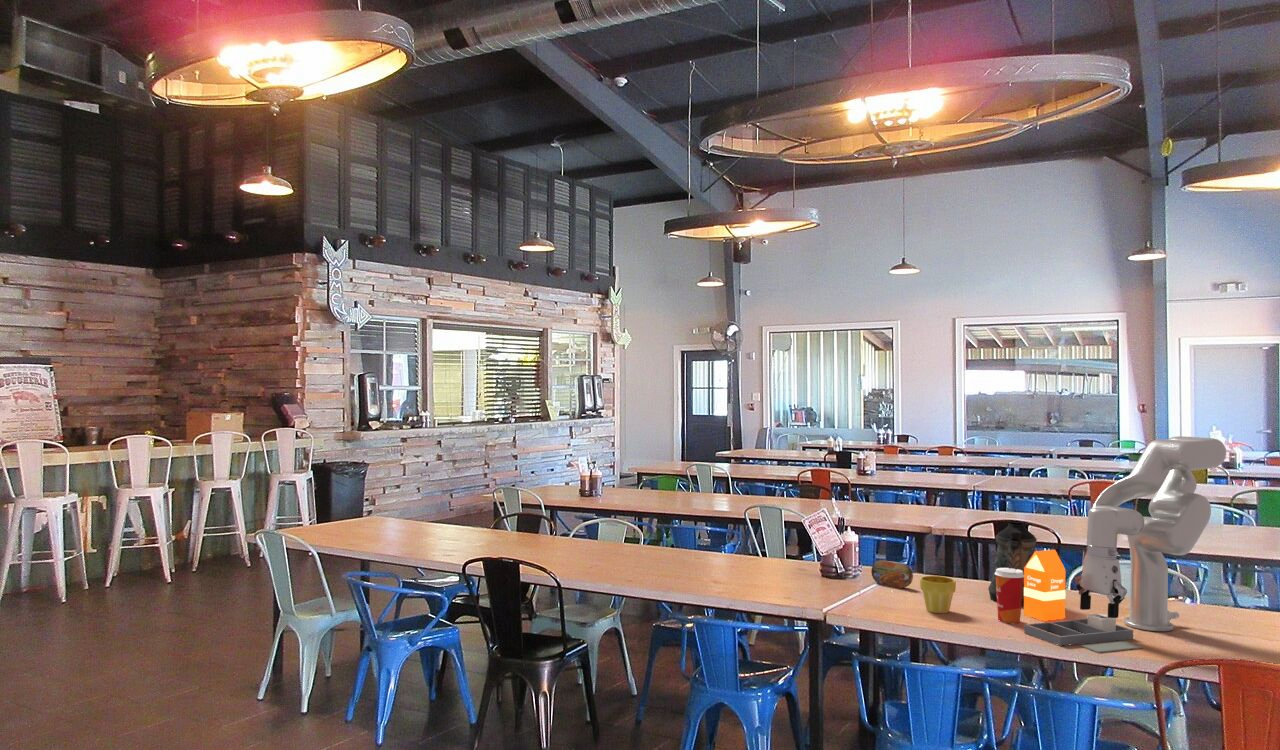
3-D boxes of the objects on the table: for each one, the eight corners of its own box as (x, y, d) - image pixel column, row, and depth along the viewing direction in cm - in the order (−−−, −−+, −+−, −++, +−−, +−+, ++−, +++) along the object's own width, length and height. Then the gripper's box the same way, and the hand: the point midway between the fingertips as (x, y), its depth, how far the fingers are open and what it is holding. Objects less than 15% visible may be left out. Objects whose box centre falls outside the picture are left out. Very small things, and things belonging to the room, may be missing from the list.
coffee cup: (999, 615, 274) (999, 566, 274) (1027, 620, 269) (1028, 570, 269) (989, 621, 268) (990, 570, 268) (1018, 626, 262) (1019, 574, 262)
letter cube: (1101, 631, 259) (1101, 613, 259) (1115, 636, 254) (1115, 617, 254) (1087, 632, 257) (1087, 614, 257) (1101, 637, 252) (1101, 619, 252)
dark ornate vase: (1029, 594, 303) (1030, 519, 303) (1057, 609, 283) (1058, 529, 283) (980, 594, 302) (981, 519, 302) (1005, 609, 283) (1006, 528, 283)
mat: (1123, 642, 248) (1123, 640, 248) (1142, 648, 242) (1142, 646, 242) (1080, 646, 243) (1080, 645, 243) (1098, 653, 237) (1098, 651, 237)
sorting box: (1094, 626, 263) (1095, 618, 263) (1133, 639, 251) (1133, 630, 251) (1024, 633, 255) (1024, 624, 255) (1060, 646, 243) (1060, 637, 243)
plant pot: (925, 614, 274) (926, 582, 274) (915, 606, 284) (915, 575, 284) (960, 615, 274) (960, 582, 274) (948, 607, 284) (949, 575, 284)
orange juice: (1023, 615, 275) (1024, 549, 276) (1044, 612, 279) (1044, 547, 279) (1044, 621, 268) (1045, 553, 268) (1065, 618, 272) (1066, 551, 272)
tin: (870, 582, 318) (871, 558, 318) (875, 581, 320) (876, 557, 320) (909, 590, 307) (909, 565, 307) (914, 589, 309) (914, 564, 309)
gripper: (1137, 557, 249) (1134, 620, 248) (1087, 547, 265) (1085, 606, 265) (1116, 557, 246) (1113, 621, 246) (1067, 547, 263) (1064, 606, 262)
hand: (1098, 613), depth 255 cm, fingers open, 9 cm apart
